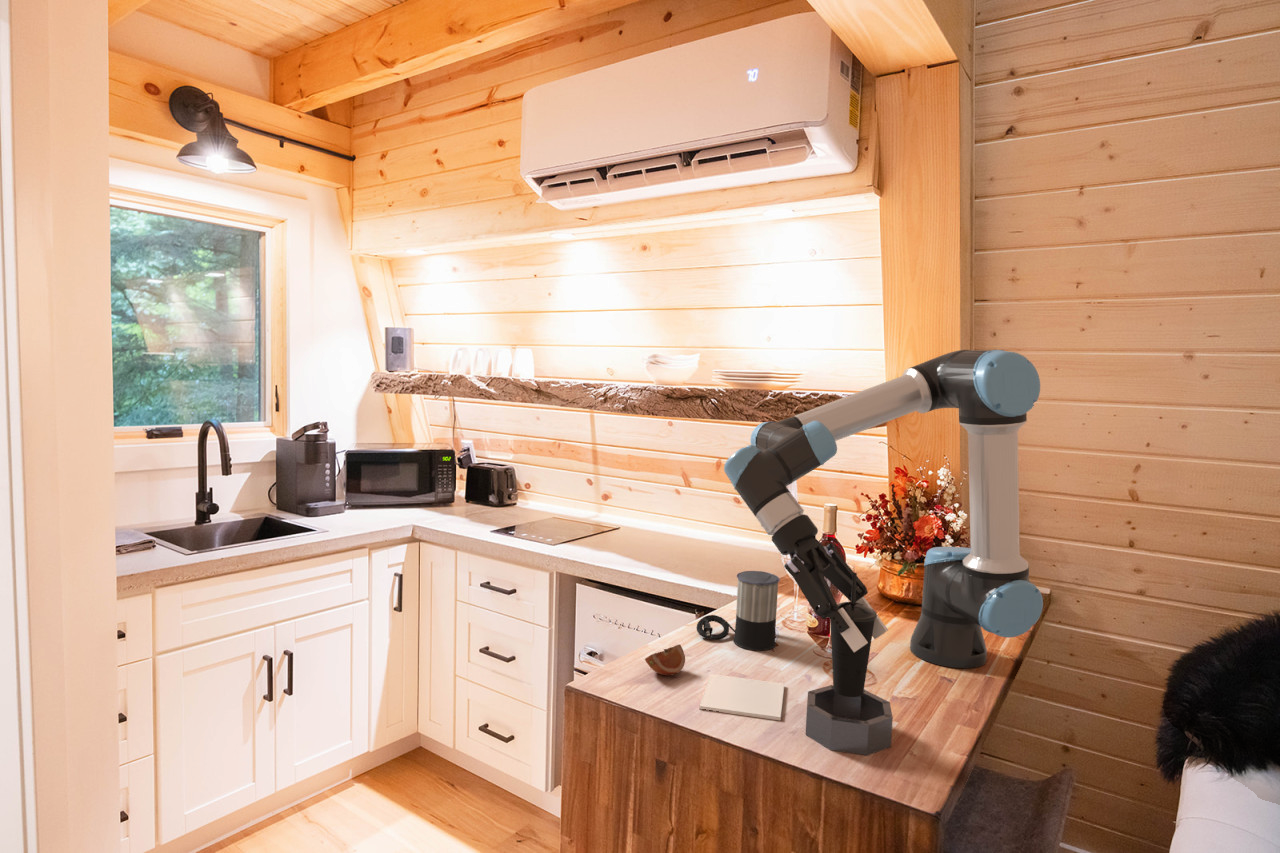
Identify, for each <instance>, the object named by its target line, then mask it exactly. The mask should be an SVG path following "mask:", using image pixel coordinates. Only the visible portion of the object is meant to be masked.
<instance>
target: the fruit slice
mask: <svg viewBox="0 0 1280 853" xmlns="http://www.w3.org/2000/svg"><path fill="white" fill-rule="evenodd" d="M644 661H645V663H646V664H647V665H648V666H649V667H650V669H651V670H652V671H653V672H655V673H656V674H659V675H662V676H674V675H676V674H678V673H679V672H681V671H682V669H684V666H685V663H686V655H685V652H684V649H683V647H682V645H681V644H676V645H673V646H670V647H668V648H663V650H662V651H659V652H655V653H652V654H649V656H646V657H645V659H644Z"/></svg>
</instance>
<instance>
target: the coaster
mask: <svg viewBox="0 0 1280 853" xmlns="http://www.w3.org/2000/svg"><path fill="white" fill-rule="evenodd" d="M784 692H785V683H783V682H776V681H770V680H769V681H767V680H760V679H752V678H745V677H737V676H730V675H721V674H715V673H714V674H713V673H710V674H709V678H708V681H707V684H706V687H705V689H704V691H703V694H702V698H701V700H700V704H699V710H702V709H706V710H705V711H709V710H713V711H712V712H716V711H719V712H718V713H725V714H733V715H736V716H737V715H738V716H746V717H752V718H761V719H766V720H774V721H781V719H782V710H783V701H784Z"/></svg>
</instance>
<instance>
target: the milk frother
mask: <svg viewBox="0 0 1280 853" xmlns="http://www.w3.org/2000/svg"><path fill="white" fill-rule="evenodd" d="M736 578H737V590H736V591H737V592H736V614H735V624H734V625H735V626H734V627H735V628H734V627H732V625H731V624H730V623H729V622H728V621H727V620H726V619H724V617H722V616H719V615H717V614H716V615H714V614H710V615H709V614H708V615H705V616H704V617H702V618H700V619H699V620H698V622H697V624H696V631H697V634H699V636H700V637H702V638H705V639H707V640H710V641H711V640H713V641H714V640H715V641H718V640H719V641H720V640H723V639H724V638H726V637H727V636H728V634H729V632H730V629H731V631H732V632H734V635H733V636H734V637H733V638H732V640H733V643H734V645H736V646H738V647H740V648H741V649H745V650H751V651H755V652H756V651H761V652H762V651H768V650H769V651H770V650H772V649H774V648H775V647H776V646H777V641H776V624H777V609H778V608H777V607H778V595H779V594H778V593H779V583H780V580H781V579H780V577H779V576H778V575H777V574H776V575H775V574H774V573H771V572H767V571H762V570H746V571H741V572H738V573H737V574H736ZM713 622H714V623H718V624H719V625H721V626H722V628H723V630H722V631H721V632H720V633H717V634H712V633H713V627H712V626H711V623H713ZM775 641H776V642H775Z"/></svg>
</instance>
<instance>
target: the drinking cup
mask: <svg viewBox="0 0 1280 853" xmlns="http://www.w3.org/2000/svg"><path fill="white" fill-rule="evenodd" d="M857 574H858V573H857V572H854V573H853V574H852V592H851V601H844V602H839V603H837V605H838V610H839V609H841V608H842V607H843V609H844V610H845V611H846V613H847V614H848V616H849V617H850V619H851V620H852V621H853V622H854V624H855V625H856V627H857V628H858V629H859V631H860V632H861V634H862V635H863V636H864V638H865V639H866V641H867V642H868V643H867V644H866V645H864V646H863V647H861V648H860V649H858V650H857V651H856V652H853V650H852V649H851V648H850V646H849V645H848V643H847V642H846V640H845V639H844V638H843V636H842V635H841V633H840V632H839V631H838V630H837V628H836V627H835V625H834V624H833V623H832V621H831V620H830V619H829V620H830V642H831V662H832V663H831V665H832V685H833V689H834V691H835V692H836V693H838V694H840V695H842V696H847V697H858V696H861V695H862V694H863V692H864V690H865V684H866V678H867V671H868V664H869V660H870V652H871V645H872V638H873V636H872V634H873V627H874V621H875V619H876V617H877V615H878V614H877V611H876V610H875V609H874V608H872V609H871V608H869V607H867V606H865V605H863V604H860V603H856V602H855V597H856V579H857V577H858V575H857Z"/></svg>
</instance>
